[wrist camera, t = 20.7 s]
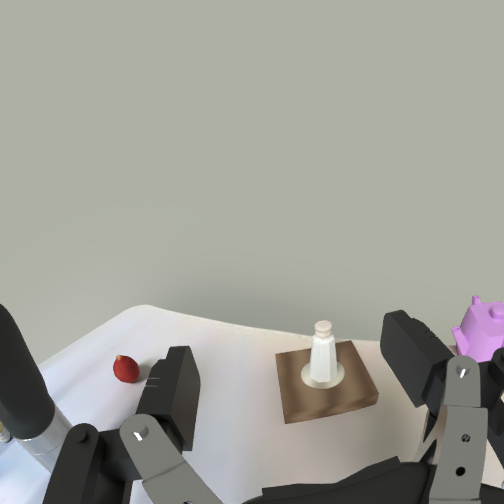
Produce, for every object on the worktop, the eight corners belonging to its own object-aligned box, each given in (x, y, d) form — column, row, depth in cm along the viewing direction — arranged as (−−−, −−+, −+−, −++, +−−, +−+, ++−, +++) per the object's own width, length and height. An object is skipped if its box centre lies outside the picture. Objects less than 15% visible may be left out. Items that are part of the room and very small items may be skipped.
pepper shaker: (343, 375, 43) (346, 326, 39) (316, 387, 41) (316, 338, 38) (328, 359, 48) (329, 311, 44) (303, 369, 46) (300, 321, 43)
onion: (129, 371, 55) (116, 345, 52) (148, 376, 53) (136, 348, 51) (116, 387, 49) (102, 360, 47) (135, 392, 48) (121, 365, 45)
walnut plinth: (285, 423, 38) (283, 413, 37) (276, 364, 53) (275, 353, 52) (375, 403, 38) (378, 392, 37) (350, 351, 53) (350, 339, 52)
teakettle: (499, 396, 27) (525, 344, 23) (436, 365, 41) (451, 314, 38) (518, 348, 34) (535, 301, 30) (465, 327, 48) (476, 281, 45)
